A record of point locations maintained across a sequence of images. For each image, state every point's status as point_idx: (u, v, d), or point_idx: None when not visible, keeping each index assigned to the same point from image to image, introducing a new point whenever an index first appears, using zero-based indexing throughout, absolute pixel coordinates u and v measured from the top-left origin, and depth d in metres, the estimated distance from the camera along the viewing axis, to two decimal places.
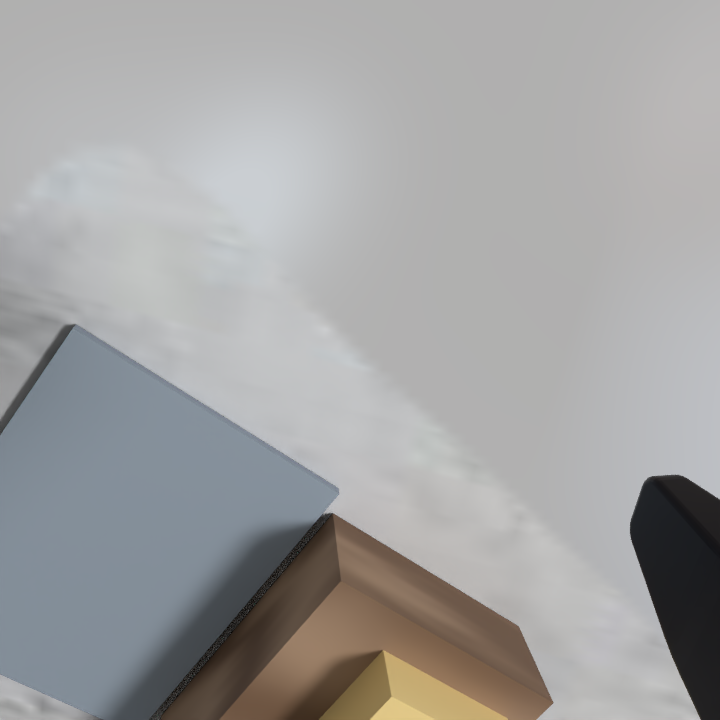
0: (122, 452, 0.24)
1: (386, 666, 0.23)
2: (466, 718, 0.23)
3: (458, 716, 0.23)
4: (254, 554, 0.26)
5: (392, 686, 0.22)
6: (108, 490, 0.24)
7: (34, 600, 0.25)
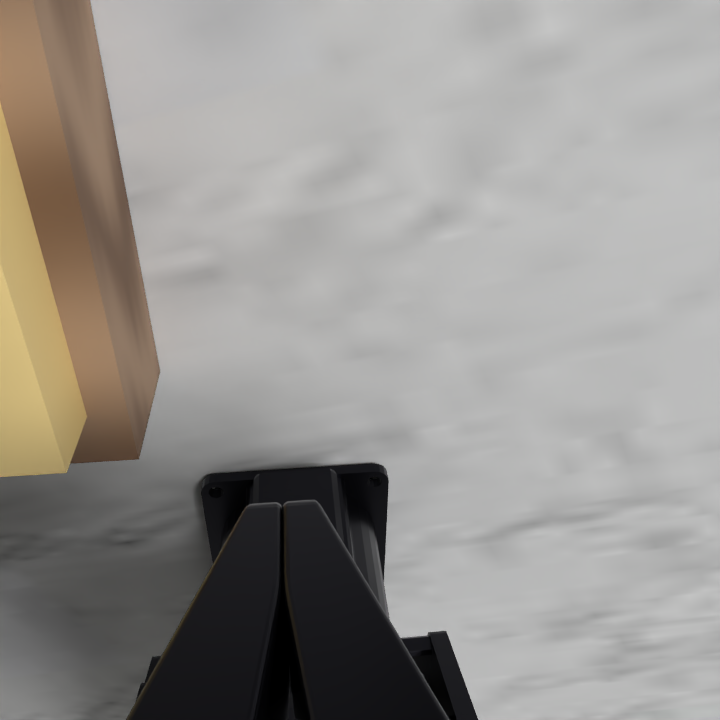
0: None
1: None
2: None
3: None
4: None
5: None
6: None
7: None
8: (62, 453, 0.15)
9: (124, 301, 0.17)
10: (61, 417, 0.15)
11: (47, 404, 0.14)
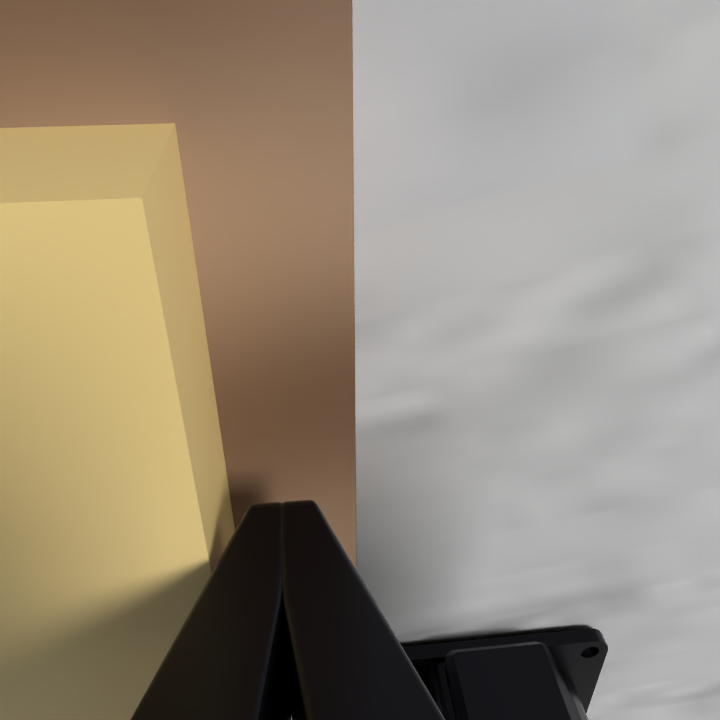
0: None
1: None
2: None
3: None
4: None
5: None
6: None
7: None
8: None
9: None
10: None
11: None
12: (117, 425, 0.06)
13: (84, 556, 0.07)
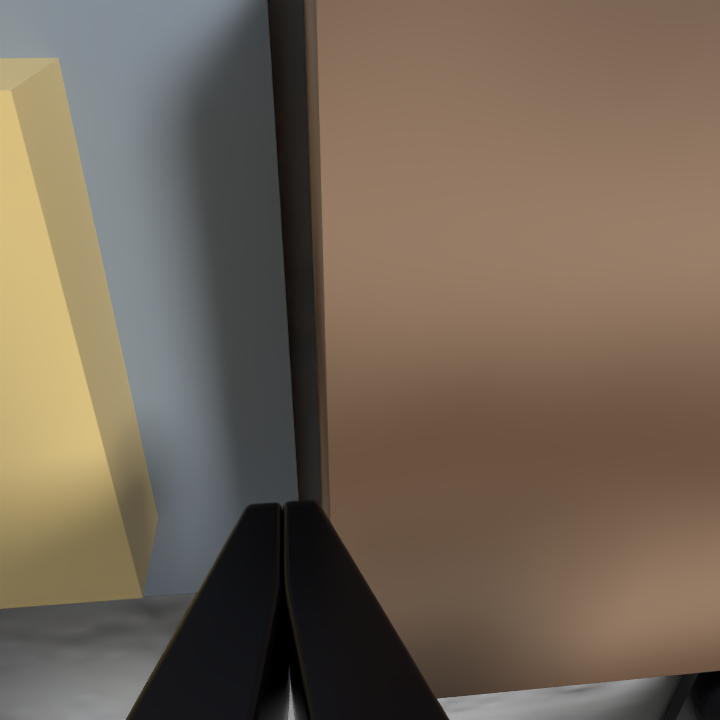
0: None
1: (29, 76, 0.08)
2: None
3: None
4: (206, 161, 0.10)
5: (38, 64, 0.09)
6: None
7: None
8: None
9: None
10: None
11: None
12: None
13: None
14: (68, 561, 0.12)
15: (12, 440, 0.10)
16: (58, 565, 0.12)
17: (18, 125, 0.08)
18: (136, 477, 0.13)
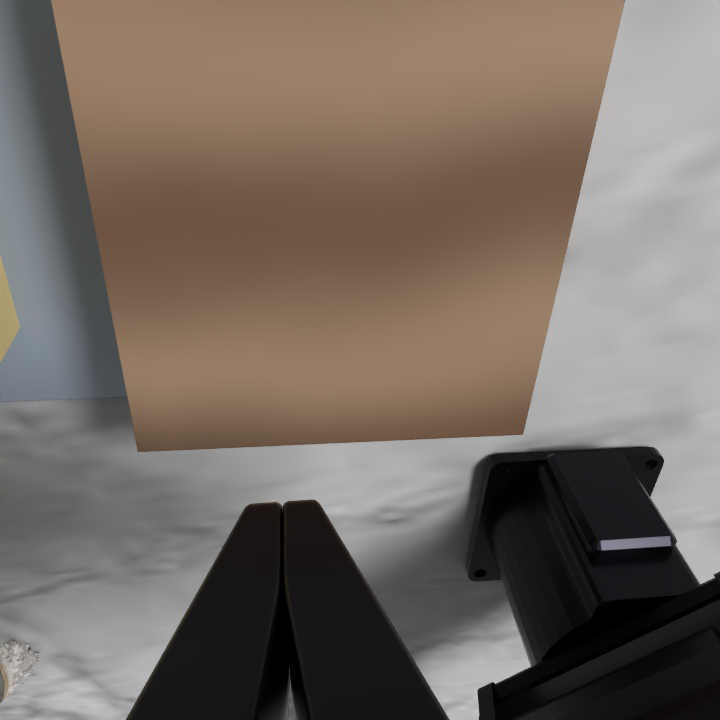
0: None
1: None
2: None
3: None
4: (28, 28, 0.15)
5: None
6: None
7: None
8: None
9: None
10: None
11: None
12: None
13: None
14: None
15: None
16: None
17: None
18: None
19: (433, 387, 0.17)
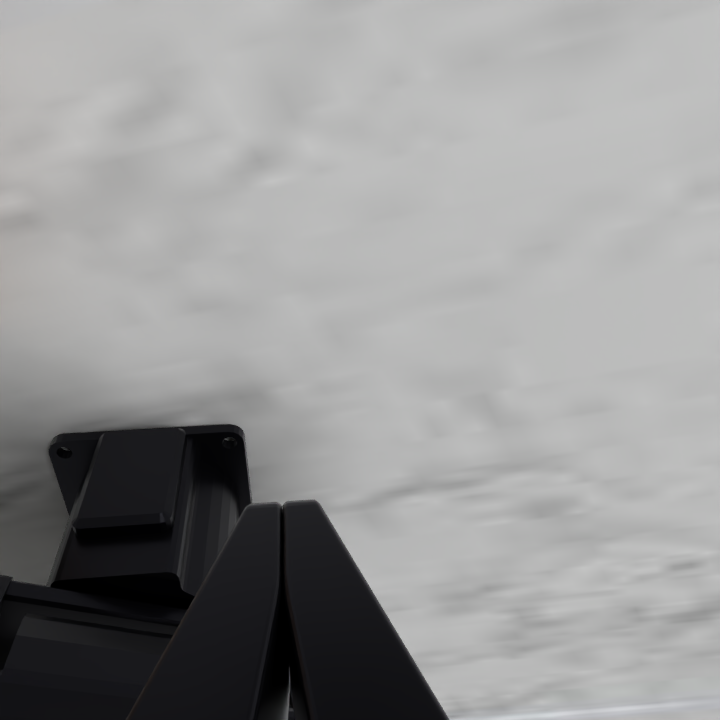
0: None
1: None
2: None
3: None
4: None
5: None
6: None
7: None
8: None
9: None
10: None
11: None
12: None
13: None
14: None
15: None
16: None
17: None
18: None
19: None
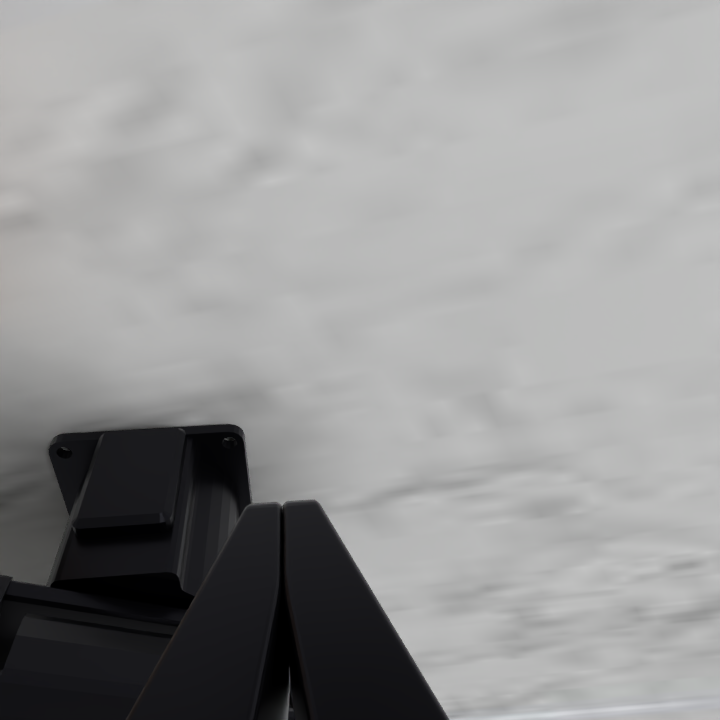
0: None
1: None
2: None
3: None
4: None
5: None
6: None
7: None
8: None
9: None
10: None
11: None
12: None
13: None
14: None
15: None
16: None
17: None
18: None
19: None
